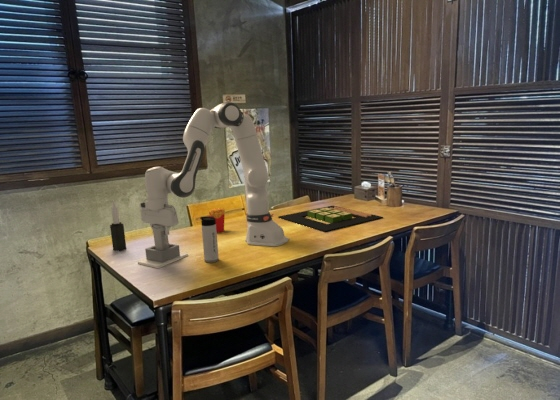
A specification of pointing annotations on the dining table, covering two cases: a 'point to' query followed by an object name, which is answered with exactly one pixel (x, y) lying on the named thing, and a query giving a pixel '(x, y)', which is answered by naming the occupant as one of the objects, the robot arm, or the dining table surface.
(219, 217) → the french fries
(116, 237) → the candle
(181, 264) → the dining table surface
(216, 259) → the travel mug
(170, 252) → the housing
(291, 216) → the sushi set
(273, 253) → the dining table surface
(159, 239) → the energy drink can
